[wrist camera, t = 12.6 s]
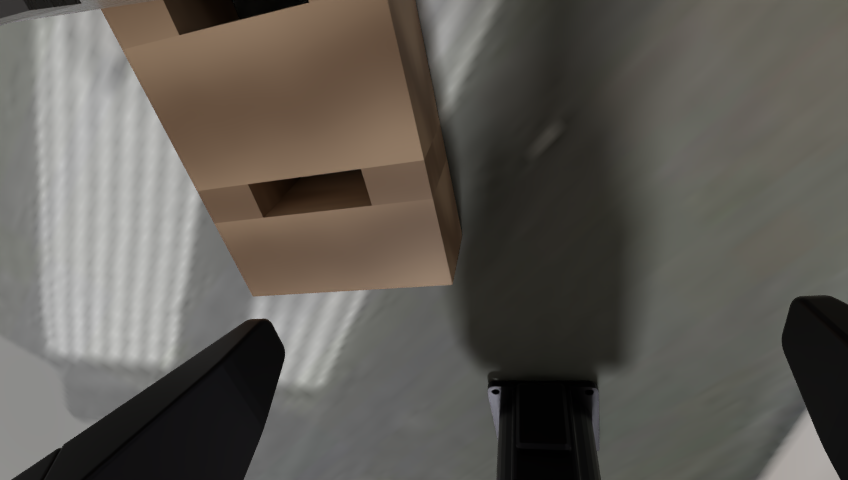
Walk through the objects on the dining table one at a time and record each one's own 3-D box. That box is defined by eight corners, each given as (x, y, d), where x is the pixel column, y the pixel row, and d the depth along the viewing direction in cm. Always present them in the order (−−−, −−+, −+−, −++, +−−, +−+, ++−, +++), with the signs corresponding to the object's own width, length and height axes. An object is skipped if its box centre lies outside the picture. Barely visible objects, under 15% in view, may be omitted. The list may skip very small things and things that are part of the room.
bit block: (462, 235, 22) (452, 284, 19) (287, 250, 25) (252, 296, 22) (340, -374, 12) (275, -490, 9) (68, -241, 15) (-59, -293, 12)
